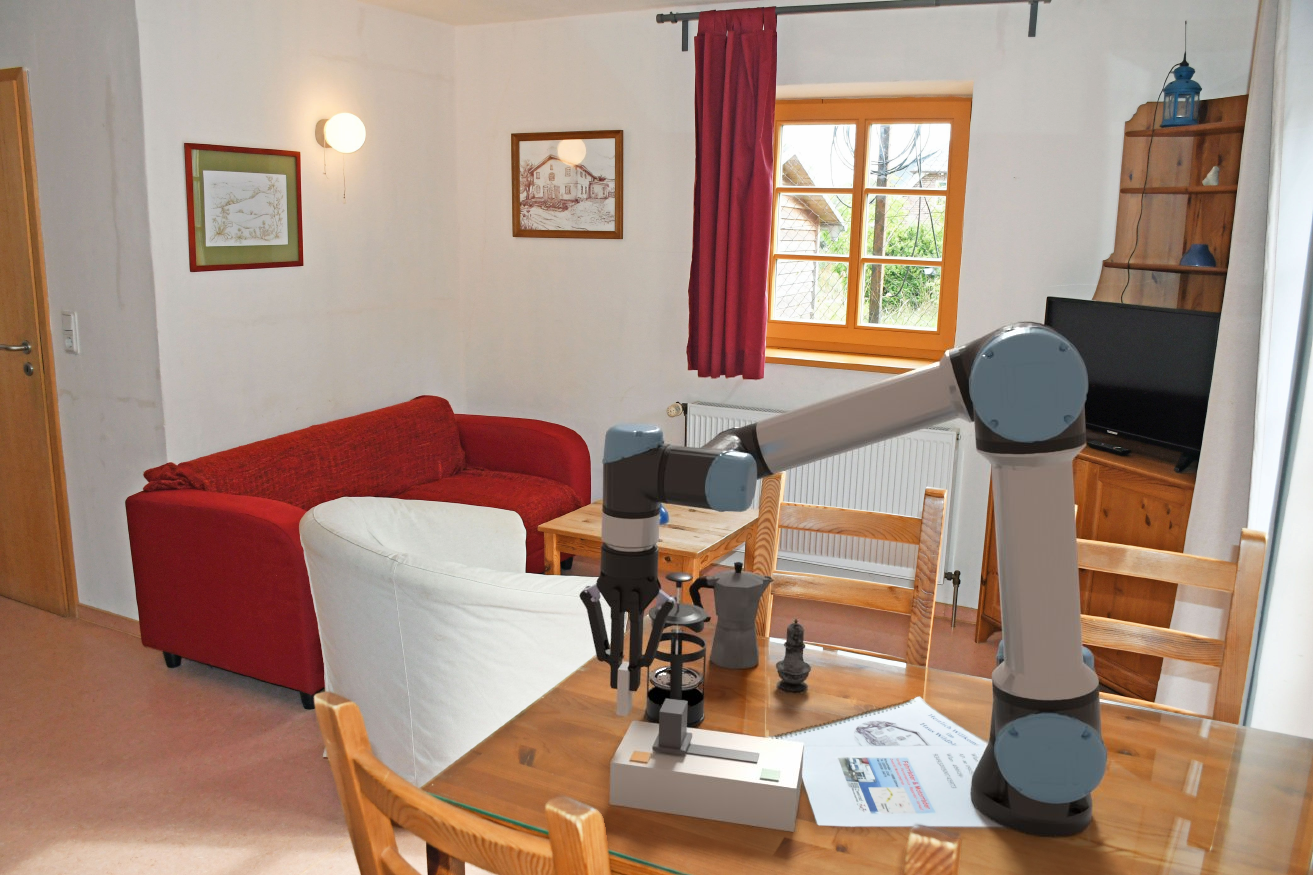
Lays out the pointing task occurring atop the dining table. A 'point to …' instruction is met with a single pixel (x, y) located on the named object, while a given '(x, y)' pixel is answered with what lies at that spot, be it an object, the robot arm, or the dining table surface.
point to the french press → (678, 660)
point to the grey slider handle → (673, 728)
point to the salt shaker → (793, 662)
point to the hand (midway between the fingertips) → (624, 710)
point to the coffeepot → (734, 615)
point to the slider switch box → (710, 777)
